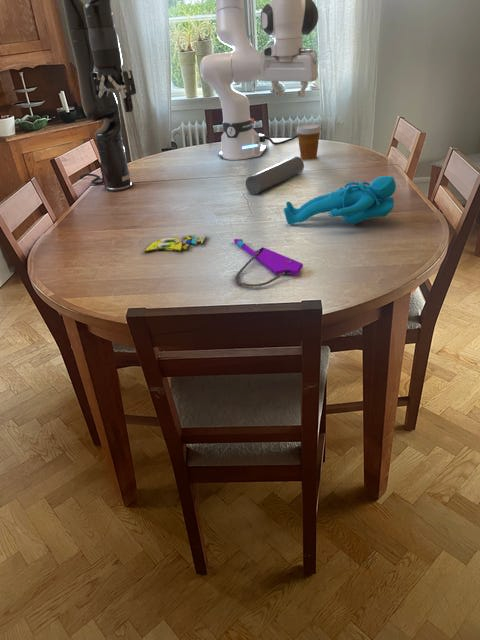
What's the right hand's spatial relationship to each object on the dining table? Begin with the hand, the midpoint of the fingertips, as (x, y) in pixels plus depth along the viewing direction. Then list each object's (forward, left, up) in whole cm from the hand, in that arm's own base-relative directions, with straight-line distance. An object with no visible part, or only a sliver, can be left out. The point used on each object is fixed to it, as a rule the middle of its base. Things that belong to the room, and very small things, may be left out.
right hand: (289, 96), depth 160 cm
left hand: (+46, -35, +4) cm, 58 cm away
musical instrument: (+70, +17, -27) cm, 77 cm away
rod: (+9, -2, -27) cm, 28 cm away
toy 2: (+38, +28, -27) cm, 54 cm away
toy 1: (+64, -9, -27) cm, 70 cm away
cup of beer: (-24, -1, -27) cm, 36 cm away
